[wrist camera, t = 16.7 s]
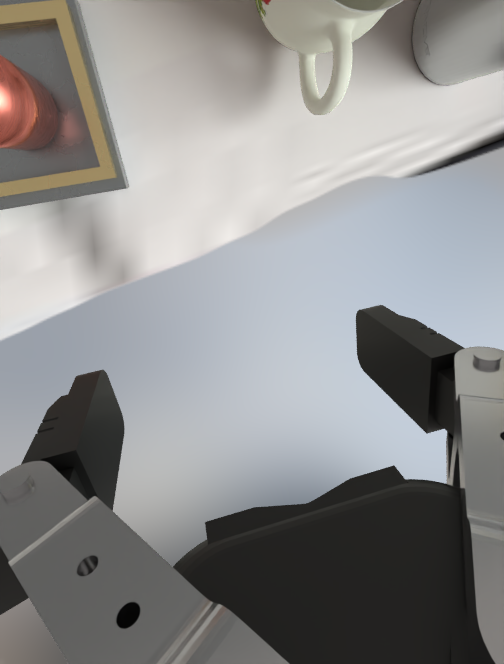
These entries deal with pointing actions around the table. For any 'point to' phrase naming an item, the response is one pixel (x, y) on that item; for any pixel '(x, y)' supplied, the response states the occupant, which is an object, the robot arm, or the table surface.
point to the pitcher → (322, 39)
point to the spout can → (24, 109)
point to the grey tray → (58, 107)
